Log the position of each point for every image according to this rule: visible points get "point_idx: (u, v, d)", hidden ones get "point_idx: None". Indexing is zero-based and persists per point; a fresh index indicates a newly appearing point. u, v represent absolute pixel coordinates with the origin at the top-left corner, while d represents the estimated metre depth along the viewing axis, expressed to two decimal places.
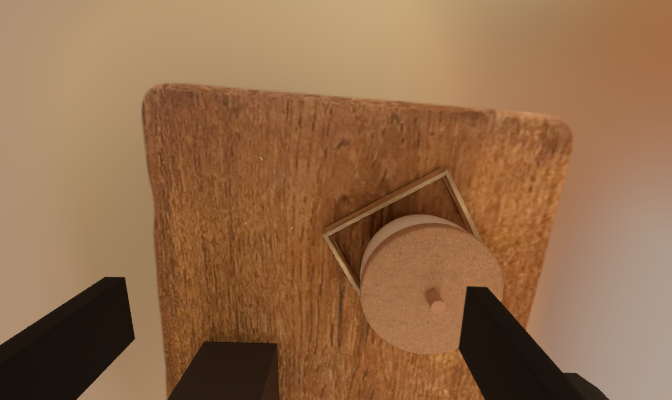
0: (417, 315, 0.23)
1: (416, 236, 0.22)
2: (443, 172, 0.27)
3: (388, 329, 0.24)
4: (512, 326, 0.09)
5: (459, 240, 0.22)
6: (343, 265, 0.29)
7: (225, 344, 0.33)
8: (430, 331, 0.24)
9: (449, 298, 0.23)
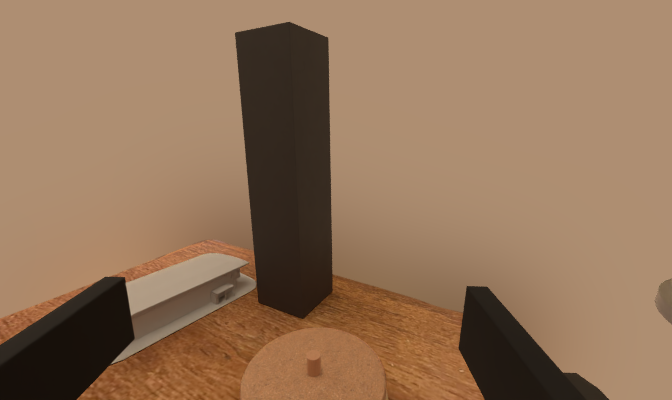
0: (302, 355, 0.25)
1: (379, 382, 0.22)
2: None
3: (304, 334, 0.27)
4: (512, 326, 0.09)
5: None
6: None
7: (324, 296, 0.46)
8: (281, 357, 0.24)
9: (302, 383, 0.22)
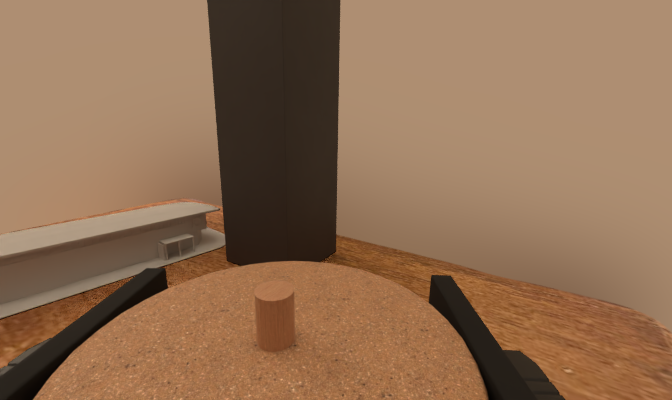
0: None
1: (464, 376, 0.07)
2: None
3: (270, 268, 0.12)
4: (465, 309, 0.10)
5: None
6: None
7: (323, 256, 0.32)
8: (201, 305, 0.10)
9: (234, 366, 0.07)
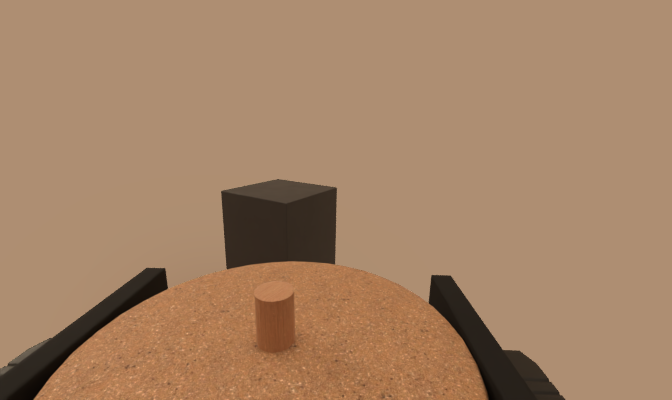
0: None
1: (464, 377, 0.07)
2: None
3: (270, 269, 0.12)
4: (465, 309, 0.10)
5: None
6: None
7: None
8: (201, 306, 0.10)
9: (234, 367, 0.07)
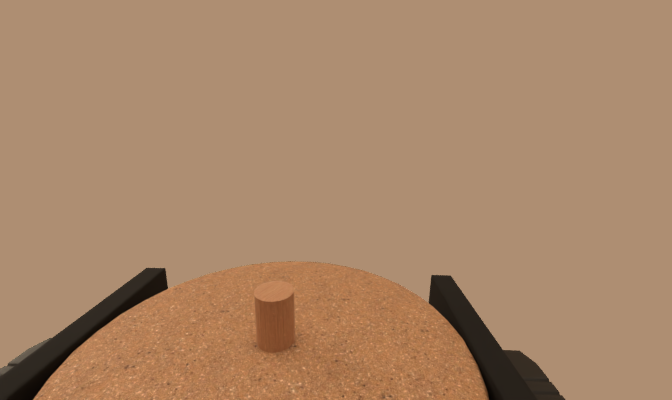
0: None
1: (465, 377, 0.07)
2: None
3: (270, 269, 0.12)
4: (465, 309, 0.10)
5: None
6: None
7: None
8: (201, 306, 0.10)
9: (234, 367, 0.07)
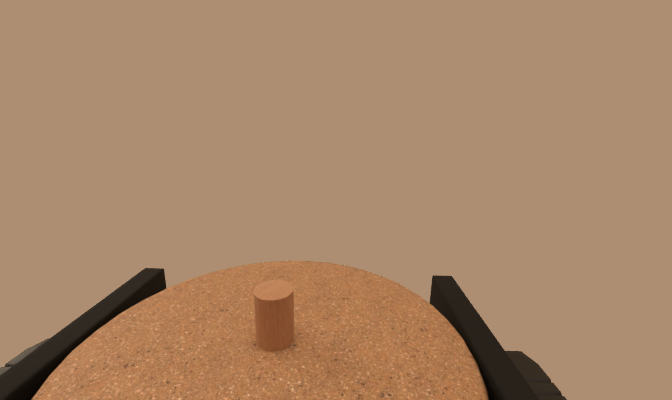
0: None
1: (464, 376, 0.07)
2: None
3: (270, 268, 0.12)
4: (467, 310, 0.10)
5: None
6: None
7: None
8: (200, 305, 0.10)
9: (233, 366, 0.07)
